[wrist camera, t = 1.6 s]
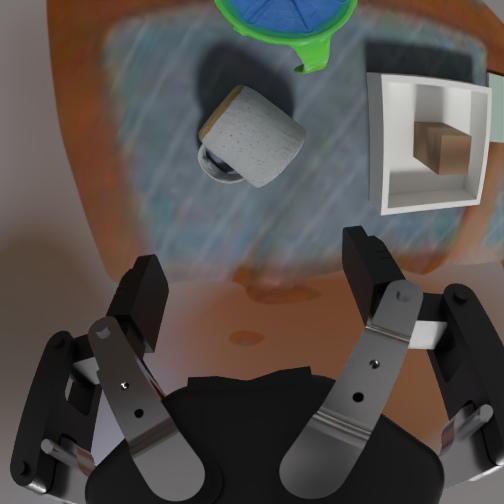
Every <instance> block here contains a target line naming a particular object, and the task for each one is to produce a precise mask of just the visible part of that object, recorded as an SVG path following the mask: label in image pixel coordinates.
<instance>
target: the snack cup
mask: <svg viewBox="0 0 504 504" xmlns="http://www.w3.org/2000/svg"><path fill="white" fill-rule="evenodd" d="M214 2H215V4H216V6H217V8H218V10H219V12H220V13H221V14H222V16H223V17H224V18H225V19H226V20H227V21H228V22H229V23H230V24H231V25H232V28H233V29H234V30H235V31H237V32H238V33H240V34H241V35H243V36H249V37H251V38H254V39H257V40H260V41H263V42H267V43H271V44H277V45H287V46H290V47H292V48H293V49H294V50H295V51H296V53H297V54H298V56H299V57H300V59H301V60H302V62H303V65H300V66H298V67H296V68H295V69H294V71H295V72H296V73H297V74H306V73H310V72H313V71H316V70H321V69H324V68H325V67H326V64H327V62H328V59H329V52H330V40H331V36H332V34H333V33H334V32H336V31H337V30H338V29H339V28H341V27H342V26H343V25H344V24H345V23H346V22H347V20H348V19H349V18H350V16H351V14H352V12H353V10H354V8H355V7H356V5H357V0H214Z"/></svg>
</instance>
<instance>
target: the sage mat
mask: <svg viewBox="0 0 504 504" xmlns="http://www.w3.org/2000/svg"><path fill="white" fill-rule="evenodd" d="M487 87H489V88H492V107H491V126H490V138H489V141H492V142H504V77H502V76H499V75H495V74H491V73H487Z"/></svg>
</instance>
